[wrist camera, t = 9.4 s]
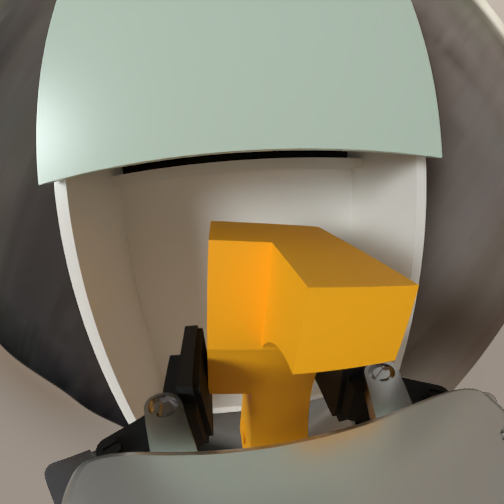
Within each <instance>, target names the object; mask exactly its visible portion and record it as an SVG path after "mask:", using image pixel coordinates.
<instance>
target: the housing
mask: <svg viewBox="0 0 504 504" xmlns="http://www.w3.org/2000/svg"><path fill="white" fill-rule="evenodd" d="M54 188H55V198H56V206H57V213H58V220H59V226H60V232H61V237H62V243H63V248H64V252H65V257H66V262H67V266H68V270H69V274H70V278H71V282H72V286H73V289H74V293H75V296H76V300H77V303H78V306H79V310H80V313H81V316H82V319H83V322H84V325H85V328H86V331H87V333H88V336H89V339H90V341H91V344H92V347H93V349H94V352H95V354H96V357H97V359H98V362H99V364H100V366H101V369H102V371H103V373H104V376H105V378H106V380H107V382H108V384H109V386H110V389H111V391H112V393H113V395H114V397H115V399H116V401H117V403H118V405H119V407H120V409H121V411H122V412H123V414H124V416H125V418H126V420H127V422H128V423H129V424H131V423H132V422H134V421H136V420H137V419H139V418H141V417H142V416H144V404H145V402H146V401H147V400H148V399H149V398H150V397H151V396H153V395H155V394H159V393H163V387H164V382H165V377H166V372H167V367H168V362H169V357H170V355H180V353H181V347H182V341H183V335H184V329H185V326H192V325H198V328H203V332H204V338H205V343H206V349H207V277H208V241H209V231H210V222H211V221H227V222H249V223H268V224H285V225H301V226H316V227H320V228H321V229H323V230H325V231H327V232H329V233H331V234H332V235H334V236H336V237H338V238H340V239H342V240H343V241H345V242H347V243H349V244H350V245H352V246H354V247H356V248H357V249H359V250H361V251H363V252H364V253H366V254H368V255H370V256H371V257H373V258H375V259H377V260H378V261H380V262H382V263H383V264H385V265H387V266H388V267H390V268H392V269H393V270H395V271H397V272H398V273H400V274H402V275H403V276H405V277H407V278H408V279H410V280H411V281H413V282H415V283H416V284H418V285H419V279H420V272H421V264H422V255H423V246H424V234H425V218H426V157H420V156H411V155H401V154H390V153H376V152H359V151H347V158H330V157H306V158H269V159H250V160H235V161H222V162H211V163H201V164H191V165H183V166H175V167H167V168H160V169H153V170H146V171H140V172H134V173H128V174H123V167H120V168H115V169H110V170H105V171H100V172H95V173H90V174H86V175H82V176H77V177H73V178H69V179H65V180H61V181H57V182H54ZM417 292H418V291H417ZM416 298H417V295H416ZM416 298H415V302H414V305H413V309H412V312H411V315H410V319H409V322H408V325H407V328H406V331H405V334H404V337H403V340H402V343H401V345H400V348H399V351H398V354H397V356H396V359H395V361H389V362H390V363H392V364H393V365H395V366H396V367H397V369H398V370H400V366H401V363H402V359H403V356H404V352H405V348H406V344H407V340H408V336H409V332H410V328H411V323H412V318H413V313H414V308H415V303H416ZM242 396H243V394H212V404H213V413H224V412H236V411H241V409H242ZM318 398H323V395H322V393H321V391H320V389H319V386H318V384H317V382H316V380H315V379H314V383H313V387H312V391H311V397H310V400H314V399H318Z"/></svg>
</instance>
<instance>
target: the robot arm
mask: <svg viewBox="0 0 504 504" xmlns="http://www.w3.org/2000/svg"><path fill="white" fill-rule="evenodd" d="M315 380H316V382H317V384H318V386H319V389H320V391H321V393H322V395H323V397H324V399H325V401H326V403H327V406H328V408H329V410H330V412H331V414H332V415H333V416H337V418H338V420H339V422H340V421H344V420H347V419H348V420H351V421H352V426H350V427H347V428H343V429H340V430H336V431H332V432H329V433H325V434H321V435H316V436H312V437H308V438H303V439H298V440H293V441H288V442H283V443H277V444H271V445H264V446H257V447H249V448H240V449H230V450H217V451H200V450H199V447H201V446H202V445H203V444H204V443H209V436H212V435H213V404H212V394H210V393H209V388H208V360H207V349H206V343H205V338H204V332H203V328H198V325H192V326H185V329H184V335H183V341H182V347H181V353H180V355H170V357H169V362H168V367H167V372H166V377H165V382H164V387H163V393H159V394H155V395H153V396H151V397H150V398H149V399H148V400H147V401H146V402H145V404H144V416H142V417H141V418H139V419H137V420H136V421H134V422H132V423H131V424H129V425H127V426H126V427H124V428H122V429H121V430H119V431H117V432H115V433H114V434H112V435H110V436H109V437H107V438H105V439H103V440H102V441H101V442H100V443H99V444H98V446H97V448H96V451H93V452H91V451H90V450H88V451H85V452H82V453H80V454H77V455H74V456H72V457H69V458H66V459H64V460H61V461H57V462H55V463H52V464H50V465H49V466H48V467H47V468H46V471H45V479H46V482H47V485H48V488H49V491H50V493H51V496H52V499H53V501H54V503H55V504H504V409H502V407H501V406H500V405H499V404H498V403H497V400H496V398H495V397H494V396H493V395H492V394H490V393H487V392H482V391H479V390H476V389H458V390H452V391H449V392H448V391H447V389H445V388H444V387H442V386H439V385H435V384H430V383H425V382H420V381H415V380H410V379H406V378H402V377H401V375H400V373H399V370H398V369H397V367H396V366H395V365H393V364H392V363H390V362H384V363H379V364H373V365H367V366H361V367H355V368H348V369H340V370H333V371H324V372H317V373H316V376H315Z"/></svg>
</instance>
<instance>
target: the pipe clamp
mask: <svg viewBox="0 0 504 504" xmlns="http://www.w3.org/2000/svg"><path fill="white" fill-rule="evenodd" d="M418 287H419V285H418V284H416V283H415V282H413V281H411V280H410V279H408V278H407V277H405V276H403V275H402V274H400V273H398V272H397V271H395V270H393V269H392V268H390V267H388V266H387V265H385V264H383V263H382V262H380V261H378V260H377V259H375V258H373V257H371V256H370V255H368V254H366V253H364V252H363V251H361V250H359V249H357V248H356V247H354V246H352V245H350V244H349V243H347V242H345V241H343V240H342V239H340V238H338V237H336V236H334V235H332V234H331V233H329V232H327V231H325V230H323V229H321V228H320V227H316V226H301V225H285V224H268V223H249V222H227V221H211V222H210V231H209V241H208V277H207V360H208V388H209V393H210V394H243V396H242V409H241V422H240V432H241V439H242V446H243V448H249V447H257V446H264V445H271V444H277V443H283V442H288V441H293V440H298V439H303V438H308V415H309V404H310V397H311V391H312V387H313V383H314V379H315V376H316V373H317V372H324V371H333V370H340V369H348V368H355V367H361V366H367V365H373V364H379V363H384V362H389V361H395V359H396V356H397V354H398V351H399V348H400V345H401V343H402V340H403V337H404V334H405V331H406V328H407V325H408V322H409V319H410V315H411V312H412V309H413V305H414V302H415V298H416V295H417V291H418Z"/></svg>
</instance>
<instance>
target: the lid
mask: <svg viewBox="0 0 504 504" xmlns="http://www.w3.org/2000/svg"><path fill="white" fill-rule="evenodd" d="M36 144H37V170H38V184H39V185H41V184H49V183H53V182H57V181H61V180H65V179H69V178H73V177H77V176H82V175H86V174H90V173H95V172H100V171H105V170H110V169H115V168H120V167H126V166H131V165H137V164H143V163H150V162H156V161H163V160H170V159H178V158H186V157H195V156H205V155H216V154H228V153H242V152H260V151H290V150H330V151H359V152H376V153H390V154H401V155H411V156H420V157H429V158H442V145H441V132H440V122H439V113H438V106H437V99H436V93H435V87H434V81H433V76H432V71H431V67H430V62H429V58H428V54H427V50H426V46H425V42H424V39H423V35H422V32H421V28H420V25H419V22H418V19H417V16H416V13H415V10H414V8H413V5H412V2H411V0H57V2H56V5H55V8H54V11H53V15H52V19H51V23H50V26H49V31H48V35H47V40H46V44H45V49H44V55H43V61H42V67H41V75H40V83H39V93H38V105H37V131H36Z"/></svg>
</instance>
